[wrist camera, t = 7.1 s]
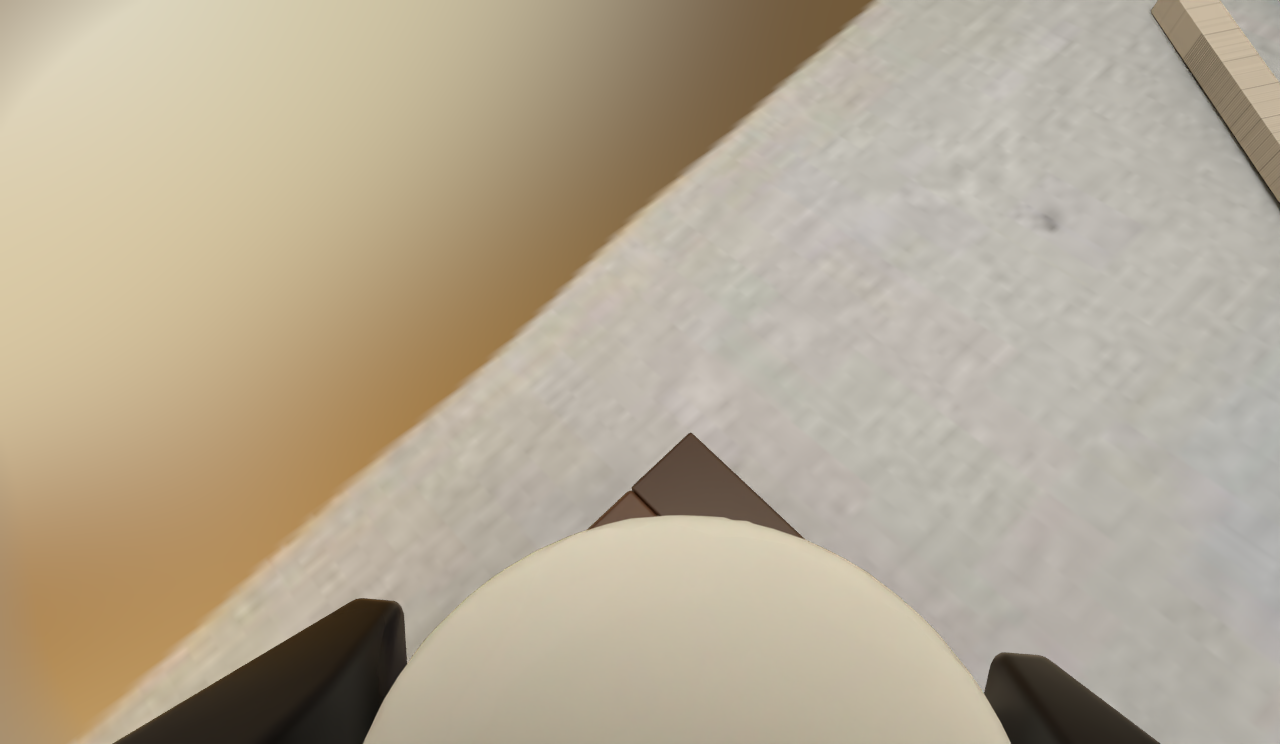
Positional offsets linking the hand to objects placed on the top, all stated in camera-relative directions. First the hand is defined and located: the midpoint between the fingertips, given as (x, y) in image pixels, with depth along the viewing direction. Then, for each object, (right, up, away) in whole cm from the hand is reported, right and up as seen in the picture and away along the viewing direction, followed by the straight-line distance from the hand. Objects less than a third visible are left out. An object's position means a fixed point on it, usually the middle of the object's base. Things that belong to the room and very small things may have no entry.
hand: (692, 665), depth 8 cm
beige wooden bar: (+17, +8, +16) cm, 25 cm away
